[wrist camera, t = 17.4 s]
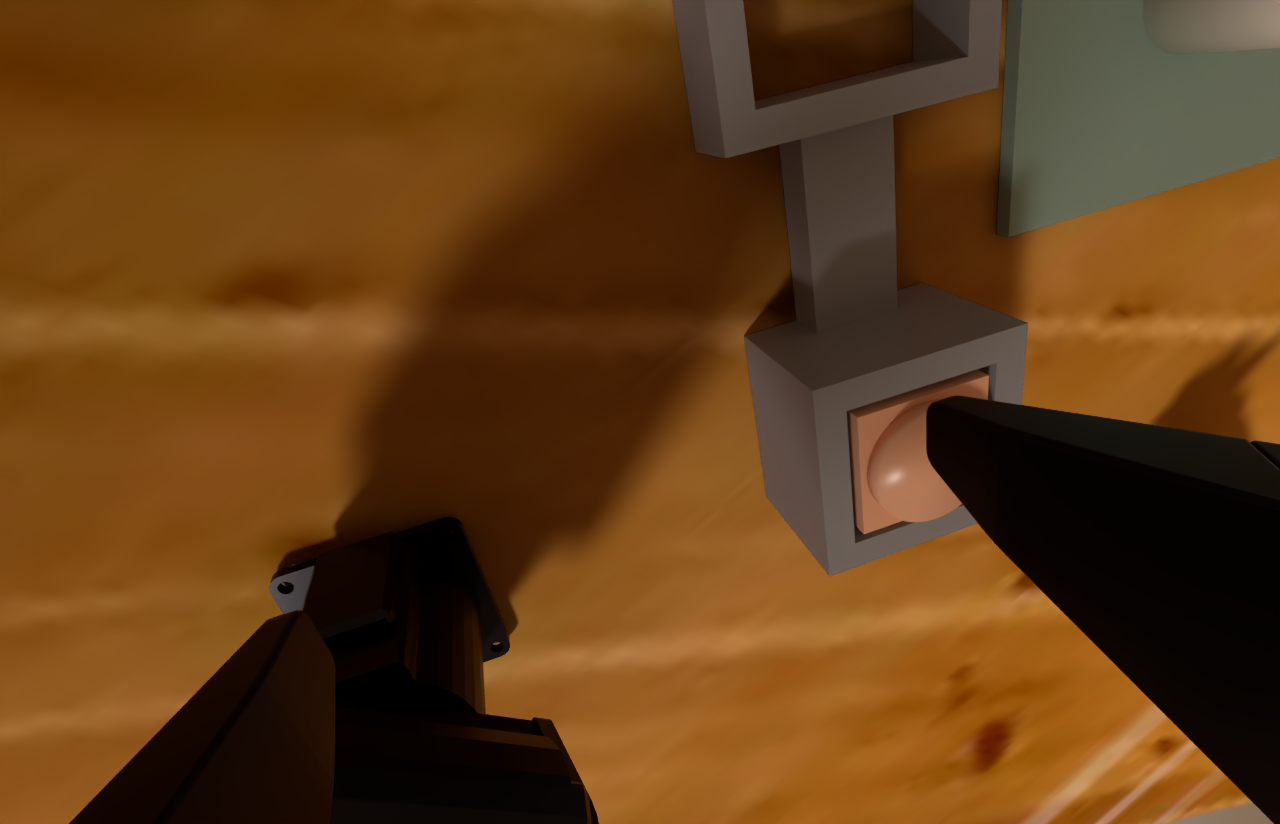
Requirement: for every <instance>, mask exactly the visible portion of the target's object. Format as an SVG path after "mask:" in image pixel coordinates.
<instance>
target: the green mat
mask: <svg viewBox="0 0 1280 824" xmlns="http://www.w3.org/2000/svg"><path fill="white" fill-rule="evenodd" d="M1143 1H1144V0H1008V10H1007V30H1006V50H1005V71H1004V91H1003V111H1002V132H1001V152H1000V173H999V193H998V213H997V235H1002V236H1006V237H1011V236H1015V235H1018V234H1021V233H1025V232H1028V231H1032V230H1035V229H1038V228H1042V227H1045V226H1049V225H1052V224H1055V223H1059V222H1062V221H1066V220H1069V219H1072V218H1076V217H1079V216H1083V215H1086V214H1089V213H1093V212H1096V211H1100V210H1103V209H1106V208H1110V207H1113V206H1117V205H1120V204H1123V203H1127V202H1130V201H1134V200H1137V199H1140V198H1144V197H1147V196H1151V195H1154V194H1157V193H1161V192H1164V191H1168V190H1171V189H1174V188H1178V187H1181V186H1185V185H1188V184H1191V183H1195V182H1198V181H1202V180H1205V179H1208V178H1212V177H1215V176H1219V175H1222V174H1225V173H1229V172H1232V171H1236V170H1239V169H1242V168H1246V167H1249V166H1253V165H1256V164H1259V163H1263V162H1266V161H1270V160H1273V159H1276V158H1280V48H1269V49H1254V50H1239V51H1224V52H1209V53H1194V54H1179V55H1173V54H1168V53H1165V52H1163V51H1161V50H1159V49H1158V48H1157V47H1156V46H1155V45H1154V44H1153V43H1152V42H1151V40H1150V38H1149V36H1148V34H1147V32H1146V28H1145V24H1144V18H1143Z"/></svg>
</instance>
